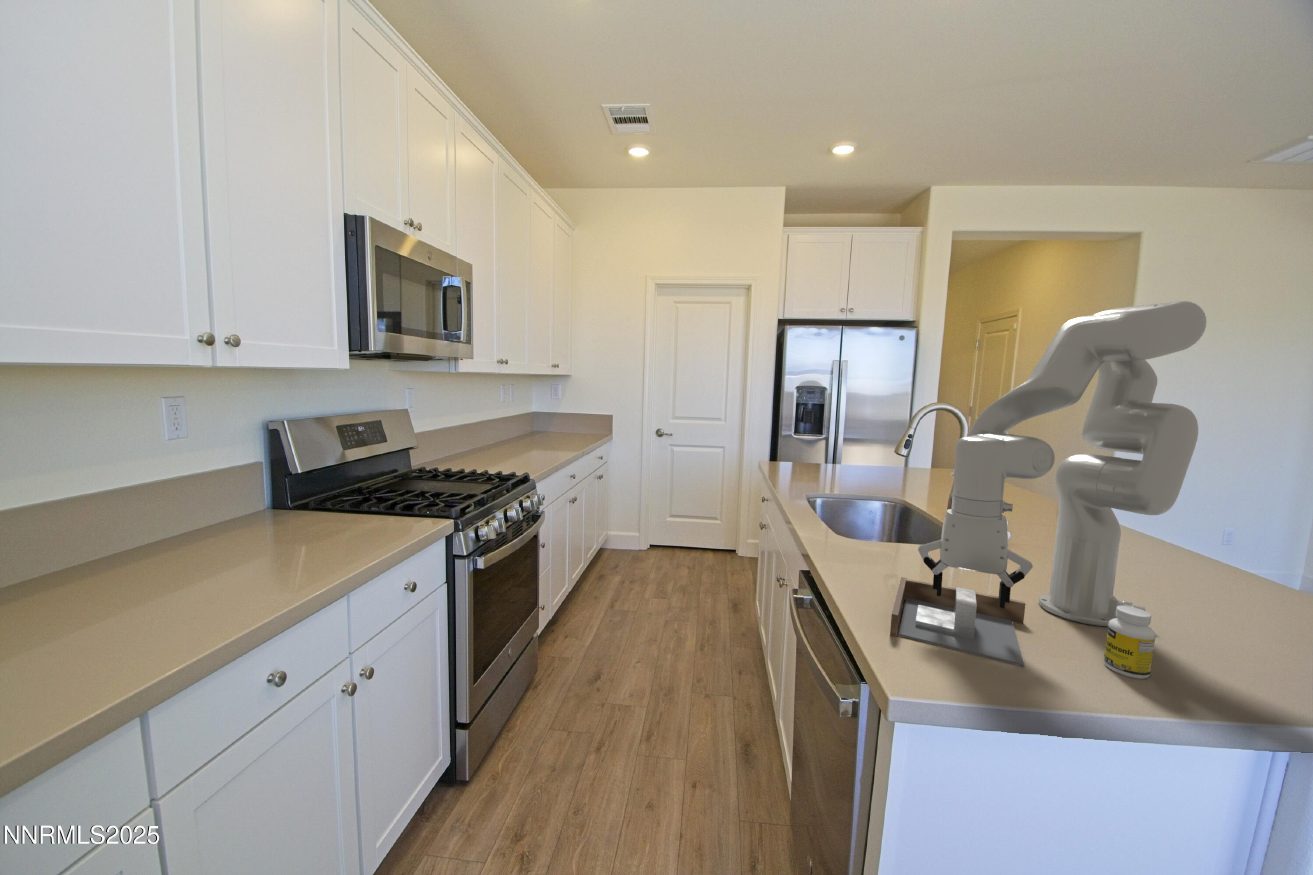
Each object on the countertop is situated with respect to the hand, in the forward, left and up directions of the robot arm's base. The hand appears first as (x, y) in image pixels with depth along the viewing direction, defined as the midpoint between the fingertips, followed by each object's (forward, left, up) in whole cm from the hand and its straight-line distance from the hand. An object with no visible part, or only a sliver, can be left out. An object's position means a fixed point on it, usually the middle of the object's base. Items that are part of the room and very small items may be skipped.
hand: (969, 599), depth 91 cm
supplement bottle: (-22, +2, -6) cm, 22 cm away
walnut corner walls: (+1, +1, -6) cm, 6 cm away
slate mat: (+1, +1, -6) cm, 6 cm away
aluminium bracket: (+4, +1, -5) cm, 6 cm away
